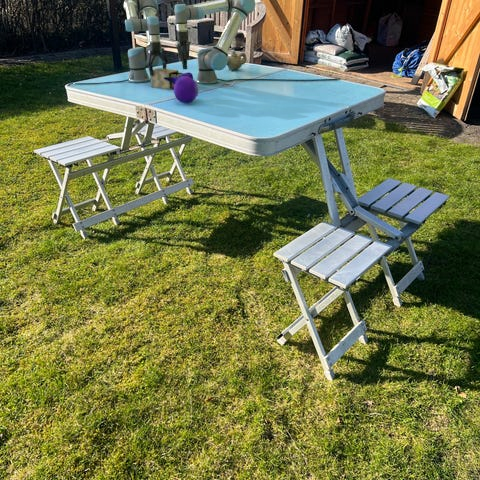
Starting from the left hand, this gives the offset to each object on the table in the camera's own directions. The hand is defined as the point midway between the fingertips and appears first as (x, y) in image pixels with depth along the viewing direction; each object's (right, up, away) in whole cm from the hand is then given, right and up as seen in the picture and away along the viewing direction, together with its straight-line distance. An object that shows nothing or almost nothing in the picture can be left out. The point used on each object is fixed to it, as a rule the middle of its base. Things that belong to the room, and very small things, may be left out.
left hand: (158, 74), depth 319 cm
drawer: (+15, -11, -5) cm, 19 cm away
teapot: (+54, +22, +52) cm, 78 cm away
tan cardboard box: (+5, -9, +1) cm, 10 cm away
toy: (+23, -31, -37) cm, 53 cm away
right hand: (+21, -2, -15) cm, 26 cm away
